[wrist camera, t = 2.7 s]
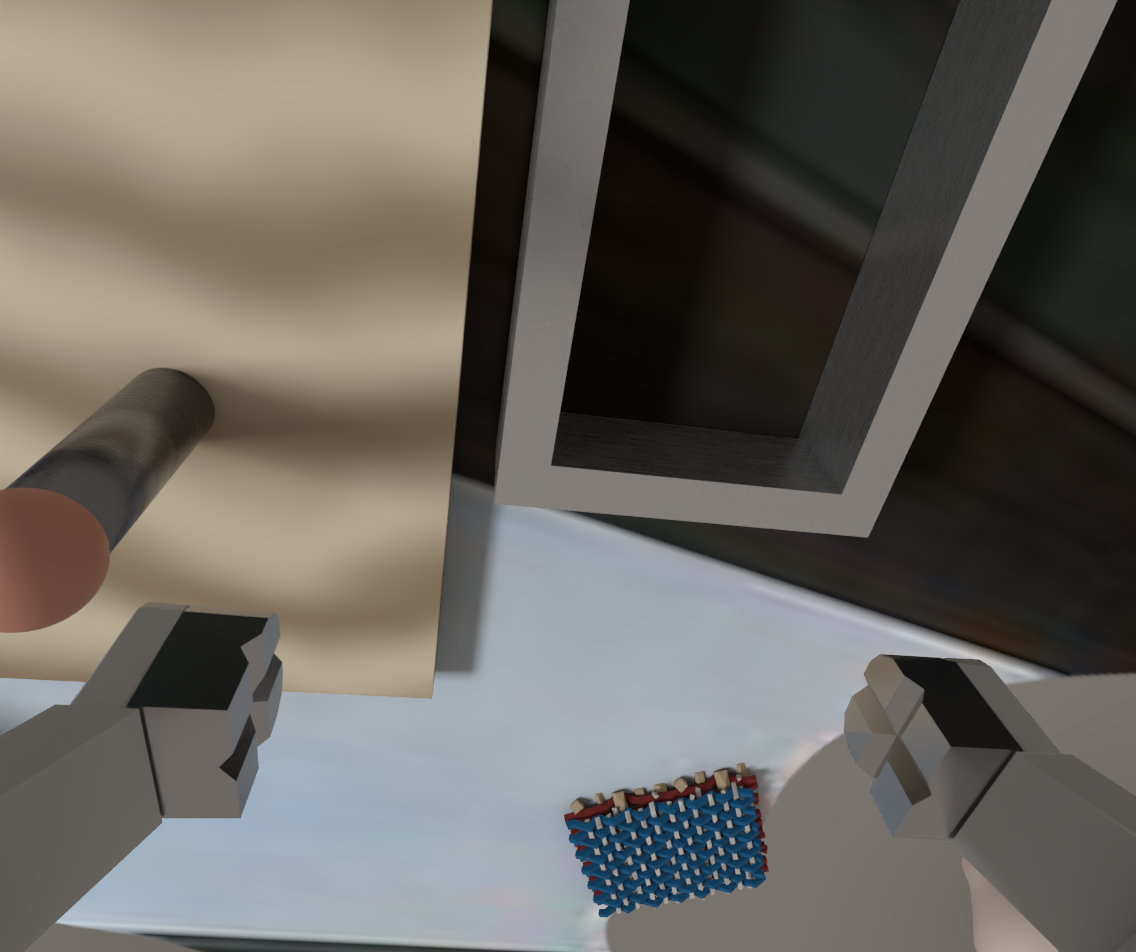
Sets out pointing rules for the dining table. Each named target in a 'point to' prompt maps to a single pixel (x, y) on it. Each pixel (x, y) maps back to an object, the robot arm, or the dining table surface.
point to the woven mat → (671, 841)
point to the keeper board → (234, 322)
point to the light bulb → (1000, 920)
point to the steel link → (871, 320)
